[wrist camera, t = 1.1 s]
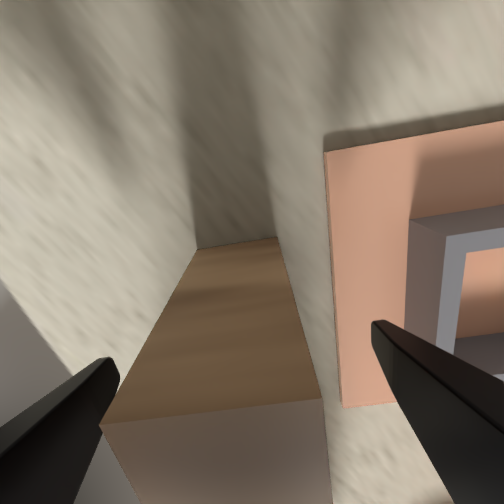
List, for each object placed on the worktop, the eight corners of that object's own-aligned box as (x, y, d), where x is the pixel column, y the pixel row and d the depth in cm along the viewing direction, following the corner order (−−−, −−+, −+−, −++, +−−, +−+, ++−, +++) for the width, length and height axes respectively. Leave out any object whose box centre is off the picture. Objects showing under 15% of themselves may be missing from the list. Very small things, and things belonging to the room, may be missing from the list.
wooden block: (286, 306, 14) (335, 528, 6) (214, 316, 15) (162, 543, 6) (277, 236, 13) (322, 398, 4) (197, 249, 13) (98, 424, 5)
